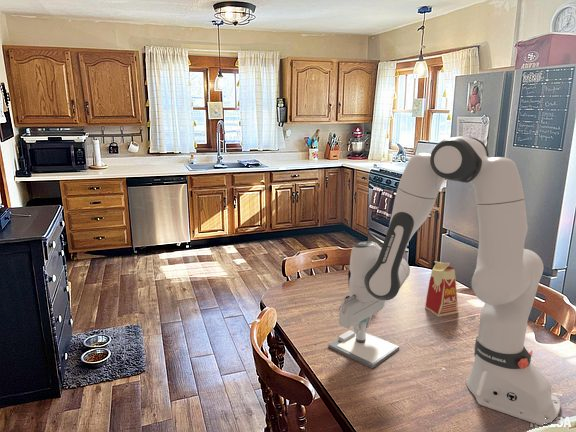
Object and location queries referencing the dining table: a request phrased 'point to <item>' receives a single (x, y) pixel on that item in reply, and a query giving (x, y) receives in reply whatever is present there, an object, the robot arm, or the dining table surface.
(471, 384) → the robot arm
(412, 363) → the dining table surface
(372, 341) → the clipboard
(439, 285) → the milk carton
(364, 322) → the glue stick
